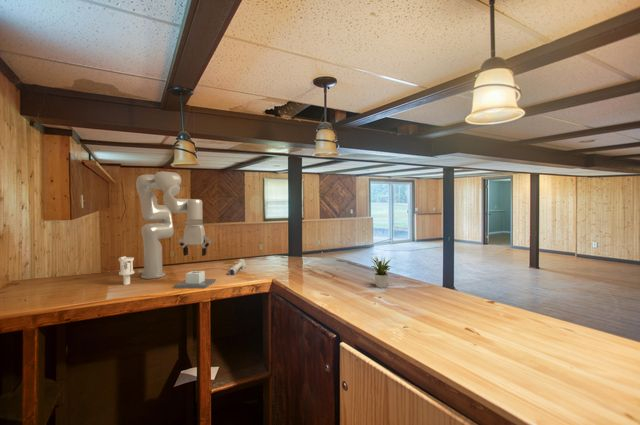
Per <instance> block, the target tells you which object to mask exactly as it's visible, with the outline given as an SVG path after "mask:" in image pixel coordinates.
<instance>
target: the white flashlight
mask: <svg viewBox="0 0 640 425" xmlns="http://www.w3.org/2000/svg"><path fill="white" fill-rule="evenodd" d="M246 266H247V263H246V260H245V259H244V258H240V259H238V262H237V263H235V264H234V265H232V266H231V267H230V268H229V270H228V271H227V273H228V275H229V276H234V275H235V274H236V273H238V271H239V270H244V269H246Z"/></svg>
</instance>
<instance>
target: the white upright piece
mask: <svg viewBox="0 0 640 425" xmlns="http://www.w3.org/2000/svg"><path fill="white" fill-rule="evenodd" d="M134 260H135V257H133V256H128V257H127V256H126V255H125V256H120V257H119V258H118V262H119V264H120V265H119V267H120V270H119V271H118V276H123V277H122V278H123V285H124V286H125V285H126V286H127V285H131V275H134V274H135V270H134V266H133V265H134V264H133V263H134Z"/></svg>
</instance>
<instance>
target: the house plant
mask: <svg viewBox="0 0 640 425" xmlns="http://www.w3.org/2000/svg"><path fill="white" fill-rule="evenodd" d="M383 256H384V254H382V256H381V260H379V259H378V257H377V256H374V258H372V260H371V262H372V263H373V265H371V267H370V268H372V269H373V270H372V271H376V273H374V281H375V286H376V288H381V289H383V288H385V289H386V288H387V286H388V281H389V276H390V275H389V273H387V271H388V272H390V269H391V268H392V265H388V264H389V263H390V261H391V260H392V259H393V257H391V258H390V259H388V260H387V261H386V256H384V257H383ZM367 257H369V258H370V255H369V256H367Z"/></svg>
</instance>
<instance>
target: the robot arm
mask: <svg viewBox="0 0 640 425" xmlns="http://www.w3.org/2000/svg"><path fill="white" fill-rule="evenodd" d="M181 183H182V177H181V175H180V174H179V173H177V172H173V171H172V172H171V171H164V170H163V171H158V172H155V174H150V173H149V174H141V175H139V176H138V177H137V179H136V182H135V187H136V191H137V193H138V196H139V200H140V208H141V214H142V218H143V220H144V221H146V222H149V223H146V224H144V225H143V226H142V227H141V232H140V233H141V237H142V239H143V240H142V241H143V242H142V243H143V269H138V272H137V273H138V274H141V276H140V278H141V279H144V280H146V279H147V280H150V279H152V280H153V279H160V278H163V277H166V272H163V245H162V243H161V242H160V241H159V240H160V239H161V240H162V239H168V238H171V237H173V235H174V232H175V231H174V230H175V229H174V223H173V214H172V213H174V214H186V220H184V223H185V224H186V225H184V231H183V236H182V237H180V238H179V239H177V240H178V243H179V245H180V246H181V247H182V249H183V250H182V253H183V256H188V255H189V247H188V246H201V247H202V249H201V257H204V256H206V255H207V248H209V246H210V244H211V242H212V239H211V238H210V237H207V236H206V229H205V225H203V211H204V210H203V200H201V199H198V198H194V199H192V198H176V197H175V196H177V195H178V194H179V193H180V190H181V187H180V186H181ZM152 190H161V191H162V192H163V197H162V198H163V199H162V200H163V204H158V200H157V196H156V194H155V193H154V192H153V191H152ZM159 221H160V222H159ZM206 241H207V242H206Z"/></svg>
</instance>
